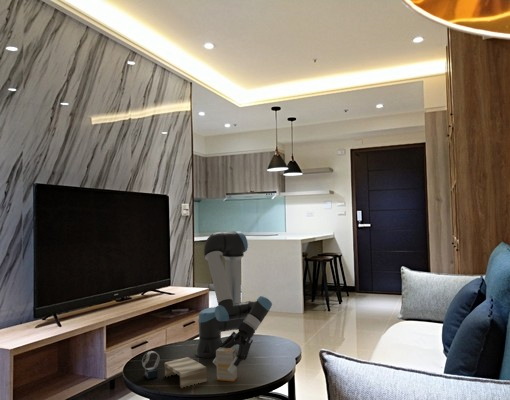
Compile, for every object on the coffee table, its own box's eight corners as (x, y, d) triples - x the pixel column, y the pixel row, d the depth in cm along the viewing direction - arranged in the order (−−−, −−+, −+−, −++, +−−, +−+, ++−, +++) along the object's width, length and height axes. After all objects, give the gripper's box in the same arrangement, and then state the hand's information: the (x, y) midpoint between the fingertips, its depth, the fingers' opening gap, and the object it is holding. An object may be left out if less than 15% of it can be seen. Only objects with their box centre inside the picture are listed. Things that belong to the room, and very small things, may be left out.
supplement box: (237, 378, 178) (236, 348, 179) (233, 382, 174) (232, 351, 174) (220, 376, 181) (220, 346, 182) (216, 380, 176) (215, 350, 177)
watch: (140, 376, 184) (140, 352, 184) (157, 372, 188) (157, 348, 189) (144, 380, 179) (143, 355, 180) (161, 376, 183) (161, 351, 184)
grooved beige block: (164, 376, 183) (164, 362, 184) (188, 369, 190) (188, 356, 191) (181, 388, 169) (181, 373, 169) (206, 381, 176) (206, 367, 176)
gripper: (269, 336, 178) (242, 380, 168) (239, 326, 197) (213, 365, 187) (259, 326, 175) (231, 370, 165) (230, 317, 194) (203, 356, 184)
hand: (221, 367), depth 176 cm, fingers open, 12 cm apart
